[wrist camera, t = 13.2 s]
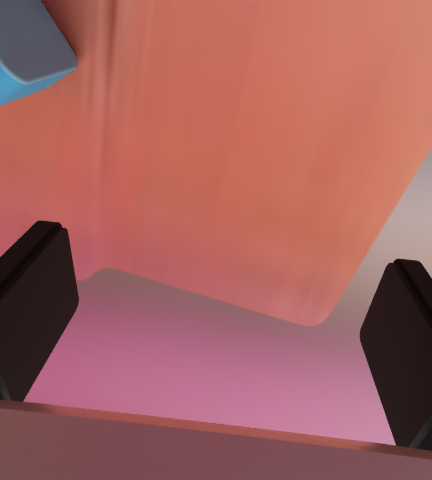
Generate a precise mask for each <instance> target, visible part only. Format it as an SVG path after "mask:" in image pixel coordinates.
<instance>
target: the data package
mask: <svg viewBox="0 0 432 480" xmlns="http://www.w3.org/2000/svg"><path fill="white" fill-rule="evenodd" d="M77 65H78V63H77V58H76V56H75V54H74V52H73V50H72V48H71V47H70V45H69V44H68V42H67V41H66V39H65V37H64V36H63V34H62V33H61V31H60V30H59V28H58V26H57V25H56V23H55V22H54V20H53V19H52V17H51V15H50V14H49V12H48V11H47V9H46V8H45V6H44V4H43V3H42V1H41V0H0V105H3V104H6V103H9V102H11V101H14V100H17V99H19V98H22V97H25V96H27V95H30V94H33V93H36V92H38V91H41V90H44V89H46V88H47V87H49V86H50V85H52V84H53V83H55V82H56V81H58V80H59V79H61V78H62V77H64V76H65V75H67V74H69V73H70V72H72V71H73V70H75V69H76V68H77Z"/></svg>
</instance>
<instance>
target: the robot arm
mask: <svg viewBox="0 0 432 480" xmlns="http://www.w3.org/2000/svg"><path fill="white" fill-rule="evenodd" d="M78 302H79V297H78V291H77V284H76V278H75V272H74V266H73V260H72V254H71V248H70V242H69V236H68V231H67V229H66V228H62V225H61V224H60V223H59V222H49V221H37V222H36V223H35V224H34V225H33V226H32V227H31V228H30V229H29V230H28V231H27V232H26V233H25V234H24V235H23V236H22V237H21V238H19V239H18V240H17V241H16V242H15V243H14V244H13V245H12V246H11V247H10V248H9V249H8V250H7V251H6V252H5V253H4V254H3V255H2V256H1V257H0V480H432V278H431V277H430V275H429V274H428V272H427V271H426V269H425V268H424V267H423V265H422V264H421V263H420V262H419V261H415V260H406V259H396V260H395V261H394V262H393V263H389V264H388V265H387V266H386V268H385V271H384V273H383V276H382V278H381V281H380V283H379V285H378V288H377V290H376V293H375V295H374V298H373V300H372V303H371V305H370V307H369V310H368V313H367V315H366V317H365V320H364V322H363V325H362V327H361V330H360V341H361V344H362V347H363V350H364V353H365V356H366V359H367V362H368V365H369V368H370V370H371V373H372V376H373V379H374V382H375V385H376V388H377V391H378V394H379V396H380V400H381V403H382V405H383V408H384V411H385V414H386V417H387V420H388V423H389V426H390V429H391V432H392V435H393V438H394V440H395V443H396V446H394V445H387V444H379V443H372V442H364V441H356V440H348V439H339V438H331V437H323V436H315V435H307V434H299V433H291V432H283V431H275V430H266V429H258V428H249V427H241V426H233V425H224V424H216V423H207V422H198V421H190V420H181V419H173V418H164V417H156V416H147V415H139V414H130V413H120V412H112V411H103V410H93V409H85V408H76V407H67V406H58V405H50V404H40V403H29V402H23V401H24V399H25V397H26V395H27V393H28V392H29V390H30V389H31V387H32V385H33V383H34V382H35V380H36V378H37V376H38V375H39V373H40V371H41V370H42V368H43V366H44V364H45V363H46V361H47V359H48V358H49V356H50V354H51V352H52V350H53V349H54V347H55V345H56V344H57V342H58V340H59V339H60V337H61V335H62V333H63V332H64V330H65V328H66V326H67V325H68V323H69V321H70V320H71V318H72V316H73V315H74V313H75V311H76V309H77V306H78Z"/></svg>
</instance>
